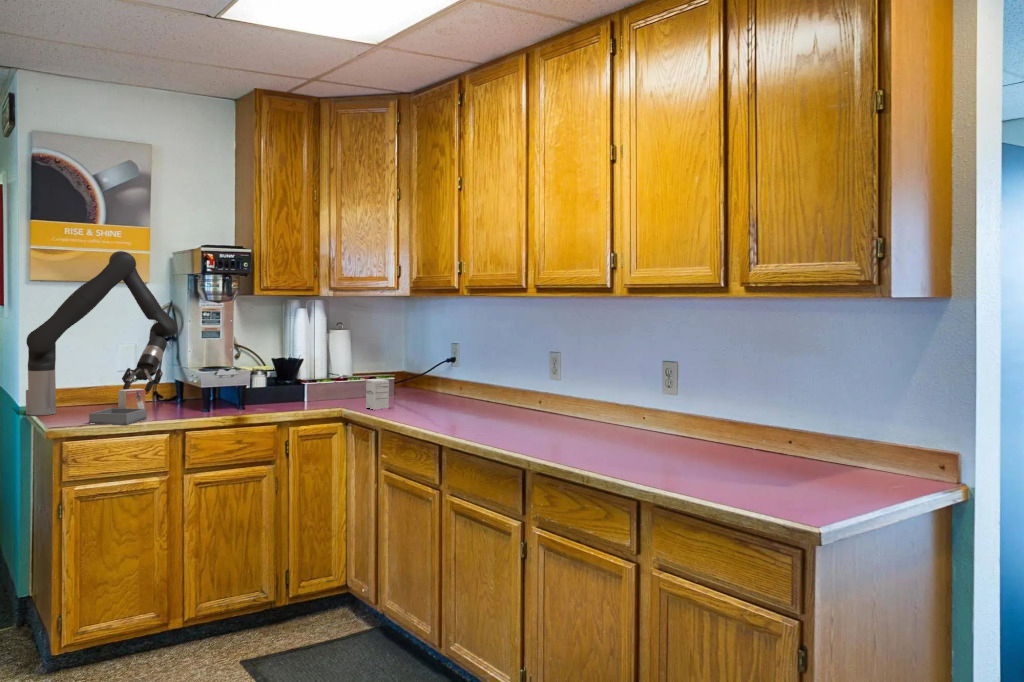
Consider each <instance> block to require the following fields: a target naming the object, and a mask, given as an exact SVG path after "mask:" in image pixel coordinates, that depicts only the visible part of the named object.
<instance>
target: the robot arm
mask: <svg viewBox="0 0 1024 682" xmlns="http://www.w3.org/2000/svg"><path fill="white" fill-rule="evenodd" d="M136 267H137V261H136V258H135V257H134V256H133V255H132V254H130V253H129V252H127V251H122V250H119V251H115V252H113V253H112V254H111V255H110V257H109V260H108V264H107V265H106V266H105V267H104V268H103V269H102V270H101V271H100V272H99V273H98V274H97V275H96V276H94V277H93V278H91V279H89V280H88V281H86V282H85V283H83V284H82V285H80V286H79V287H78V288H77V289H75V291H73V292H72V293H71V294H70V295H69V296H68V297H67V298H66V299H65V300H64V301H63V302H62V304H60V305H59V307H58V308H57V310H55V311H54V313H53V314H52V316H50V317H49V318H47V320H46V321H44V322H43V323H42V324H40V325H39V326H38V327H36V328H35V329H34V330H32V331H31V332H30V333H28V335H27V337H26V341H25V342H26V346H27V348H28V353H27V354H28V359H27V389H25V414H26V415H29V416H48V415H55V414H57V393H56V384H57V383H56V362H57V361H56V360H57V358H56V357H57V355H56V353H57V352H56V346H57V344H56V342H57V341H58V340H59V339H60V338H61V336H63V334H64V333H65V332H66V331H68V329H70V328H71V327H73V326H74V325H75V324H77V323H78V322H80V321H81V320H82V319H83V318H84V317H86V316H87V315H88V314H89V313H90V312H92V310H94V308H96V307H97V305H99V304H100V302H101V301H102V300H103V299H105V297H106V296H107V295H108V294H109V293H110V292H111V290H112V289H113V288H114V287H115V286H117V285H118V284H119V283H121V281H123V283H124V284H125V286H126V287H127V288H128V290H129V291H130V293H131V295H132V296H133V299H134V300H135V302H136V304H137V305H138V307H139V308H140V310H141V312H142V313H143V315H144V317H145V318H146V319H148V320H151V321H156V322H155V323H153V325H152V326H151V327H150V330H149V338H148V339H149V340H148V342H147V344H146V346H145V347H144V349H143V351H142V353H141V355H140V357H139V359H138V360H137V361H138V362H137V363H136V368H135V369H131V368H130V367H128V368H127V369H126V371H125V372H124V374H123V376H122V377H121V381H122V382H123V387H122V390H127V389H131V388H130V387H131V385H132V384H133V383H136V382H138V381H147V380H148V382H146V383H147V384H146V386H145V388H144V389H145V393H149V392H150V391H151V390H152V388H153V386H154V385H155V384H156V385H159V384H160V382H161V379H162V377H163V374H164V373H163V371H162V369H161V368H159V366H160V364H161V361H162V359H163V355H164V352H165V351H166V349H167V345H168V343H167V340H166V338H169V337H173V336H174V335H176V334H177V333H178V329H179V327H178V324H177V322H176V321H175V319H173V318H172V316H170V314H169V313H167V312H166V311H165V310H164V309H163V308H162V306H161V305H160V303H159V301H158V300H157V298H156V297H155V295H154V294H153V293H152V291H151V290H150V289H149V288H148V287H147V285H146V284H145V282H144V280H143V279H142V277H141V276H140V274H139V272H138V270H137V268H136ZM154 375H155V376H154ZM153 376H154V378H152V377H153Z"/></svg>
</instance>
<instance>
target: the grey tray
mask: <svg viewBox="0 0 1024 682" xmlns="http://www.w3.org/2000/svg"><path fill="white" fill-rule="evenodd" d="M147 414H148V413H147V408H145V409H132V408H118V407H109V408H105V409H100V410H97V411H93V412H88V424H89V423H95V424H94V425H98V424H112V425H111V426H129V425H131V424H132V423H133V424H135V423H134V422H136V423H138V422H137V421H139V422H142V421H141V420H143V421H146V420H147ZM145 419H146V420H145Z"/></svg>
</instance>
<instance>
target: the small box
mask: <svg viewBox="0 0 1024 682" xmlns="http://www.w3.org/2000/svg"><path fill="white" fill-rule="evenodd" d="M117 391H118V395H117V396H118V399H117V400H118V407H117V408H132V409H146V391H145V388H144V389H143V388H138V387H137V388H129V389H127V390H124V389H118V390H117Z"/></svg>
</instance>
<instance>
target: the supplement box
mask: <svg viewBox="0 0 1024 682" xmlns="http://www.w3.org/2000/svg"><path fill="white" fill-rule="evenodd" d="M365 381H366V382H365V386H366V387H365V390H366V391H365V409H366V408H370V409H380V408H389V409H390V380H388V379H383V378H371V379H369V378H368V379H366V380H365ZM370 409H369V410H370Z"/></svg>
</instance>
